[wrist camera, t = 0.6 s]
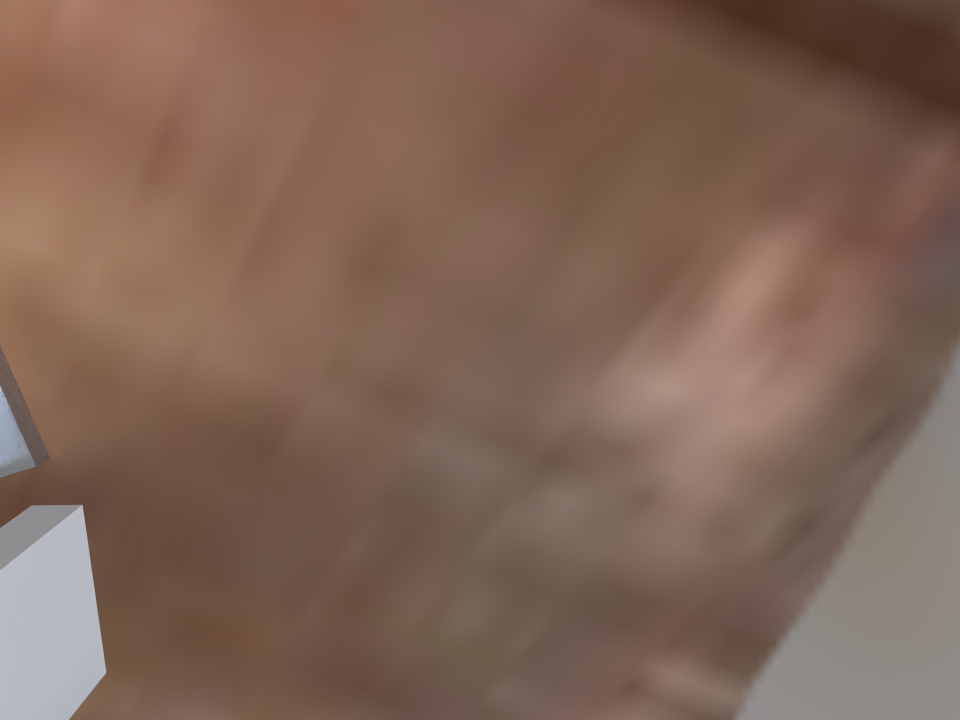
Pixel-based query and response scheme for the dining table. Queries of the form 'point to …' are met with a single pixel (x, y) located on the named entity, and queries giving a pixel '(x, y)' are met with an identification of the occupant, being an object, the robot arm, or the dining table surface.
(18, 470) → the plate
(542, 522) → the dining table surface
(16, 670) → the robot arm
